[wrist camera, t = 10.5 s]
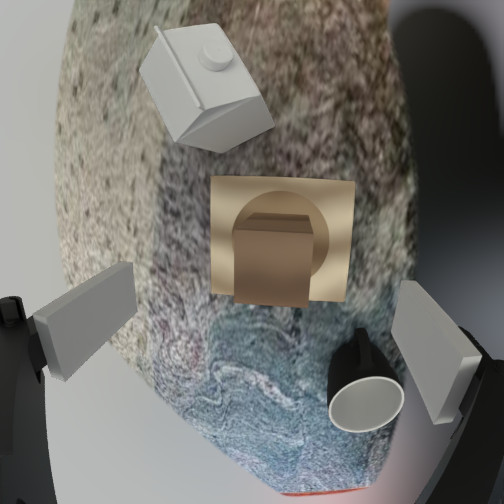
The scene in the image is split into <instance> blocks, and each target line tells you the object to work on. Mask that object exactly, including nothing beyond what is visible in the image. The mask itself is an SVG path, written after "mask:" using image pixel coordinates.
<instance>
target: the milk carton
mask: <svg viewBox="0 0 504 504" xmlns="http://www.w3.org/2000/svg"><path fill="white" fill-rule="evenodd" d="M154 28H155V30H156V31H157V33H158V37H157V39H156V40H155V42H154V44H153V46H152V47H151V49H150V51H149V53H148V54H147V56H146V58H145V60H144V62H143V64H142V65H141V67H140V69H139V72H140V74H141V76H142V78H143V80H144V82H145V84H146V86H147V88H148V91H149V93H150V95H151V97H152V99H153V101H154V103H155V105H156V107H157V109H158V111H159V113H160V115H161V117H162V119H163V121H164V123H165V125H166V127H167V129H168V131H169V133H170V135H171V137H172V139H173V141H174V142H176V143H180V144H185V145H189V146H193V147H197V148H201V149H205V150H209V151H213V152H217V153H221V154H222V153H224V152H226V151H228V150H230V149H232V148H234V147H236V146H238V145H239V144H241V143H243V142H245V141H247V140H249V139H251V138H253V137H255V136H257V135H259V134H261V133H263V132H265V131H267V130H269V129H271V128H273V127H275V124H274V121H273V119H272V117H271V115H270V112H269V110H268V108H267V106H266V104H265V101H264V99H263V97H262V95H261V93H260V91H259V89H258V87H257V85H256V84H255V82H254V80H253V78H252V77H251V75H250V73H249V72H248V70H247V68H246V67H245V65H244V63H243V62H242V60H241V59H240V57H239V55H238V54H237V52H236V50H235V49H234V47H233V46H232V44H231V42H230V41H229V39H228V38H227V36H226V35H225V33H224V32H223V30H222V29H221V27H220V26H219V25H218V24H216V23H213V24H204V25H196V26H188V27H181V28H175V29H169V30H164V31H162V30H161V29H160V28H159V27H158V26H157V25H156V26H154Z"/></svg>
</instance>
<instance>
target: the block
mask: <svg viewBox="0 0 504 504" xmlns="http://www.w3.org/2000/svg"><path fill="white" fill-rule="evenodd" d="M313 240H314V233H313V229H312V226H311V222H310V219H309V215H298V214H279V213H256V212H254V213H253V214H251V215H250V216H249V217H248V218H247V219H246V220H245V221H244V222H243V223H241V224H240V225H239V226H238V227H237V228H236V229H235V230H234V303H242V304H255V305H269V306H283V307H300V308H308V302H309V291H310V280H311V267H312V254H313Z"/></svg>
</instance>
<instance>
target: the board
mask: <svg viewBox="0 0 504 504" xmlns="http://www.w3.org/2000/svg"><path fill="white" fill-rule="evenodd" d="M354 197H355V182H354V181H343V180H329V179H314V178H295V177H270V176H211V293H214V294H226V295H234V230H235V229H236V228H237V227H238V226H239V225H240V224H241V223H243V222H244V221H245V220H246V219H247V218H248V217H249V216H250V215H251V214H253V213H254V212H256V213H279V214H298V215H309V219H310V222H311V226H312V229H313V233H314V240H313V254H312V267H311V280H310V291H309V300H314V301H334V302H344V301H345V293H346V285H347V277H348V268H349V259H350V249H351V238H352V226H353V213H354Z"/></svg>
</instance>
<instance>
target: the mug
mask: <svg viewBox="0 0 504 504" xmlns="http://www.w3.org/2000/svg"><path fill="white" fill-rule="evenodd" d="M403 402H404V391H403V388H402V385H401V383H400V381H399V379H398V377H397V375H396V373H395V371H394V369H393V367H392V366H391V364H390V363H389V361H388V360H387V358H386V357H385V356H384V354H383V353H382V352H381V351H380V350H379V349H378V348H377V347H376V346H375V345H373V344H371V343H370V341H369V337H368V333H367V331H366V329H365V328H357V329H356V330H355V332H354V339H353V342H349V343H347V344H345V345H343V346H342V347H341V348H340V349H339V350H338V351H337V352H336V353H335V355H334V356H333V358H332V361H331V364H330V368H329V374H328V385H327V406H328V414H329V417H330V420H331V421H332V423H333V424H334V425H335V426H337V427H338V428H340V429H342V430H345V431H348V432H367V431H371V430H374V429H377V428H379V427H382V426H383V425H385V424H387V423H388V422H390V421H391V420H392V419H393V418H394V417H395V416H396V415H397V414H398V412H399V411H400V409H401V408H402V405H403Z"/></svg>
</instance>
